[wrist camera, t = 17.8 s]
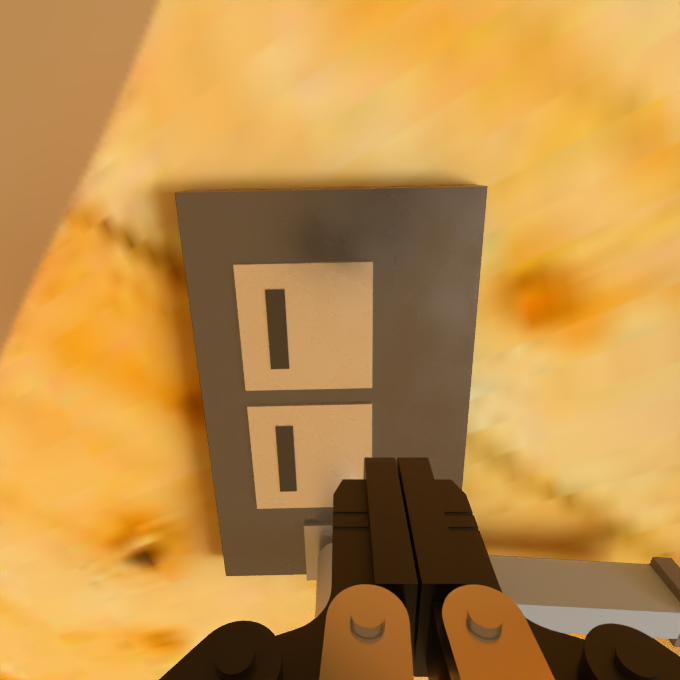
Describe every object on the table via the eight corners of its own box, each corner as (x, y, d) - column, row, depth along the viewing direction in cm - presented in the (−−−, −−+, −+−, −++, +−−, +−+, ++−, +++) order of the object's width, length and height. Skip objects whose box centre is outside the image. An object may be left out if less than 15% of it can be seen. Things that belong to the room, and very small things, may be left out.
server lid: (184, 190, 24) (172, 192, 22) (477, 184, 24) (489, 186, 22) (231, 559, 32) (225, 582, 31) (449, 554, 33) (455, 576, 31)
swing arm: (316, 577, 30) (311, 684, 24) (319, 537, 29) (315, 638, 23) (655, 596, 31) (735, 704, 25) (671, 558, 30) (759, 661, 24)
